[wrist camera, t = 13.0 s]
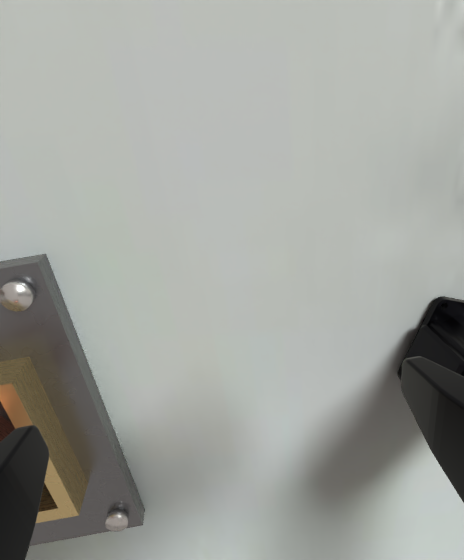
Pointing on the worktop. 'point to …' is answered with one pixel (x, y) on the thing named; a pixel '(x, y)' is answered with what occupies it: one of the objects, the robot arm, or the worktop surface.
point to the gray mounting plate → (60, 409)
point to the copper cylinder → (5, 427)
